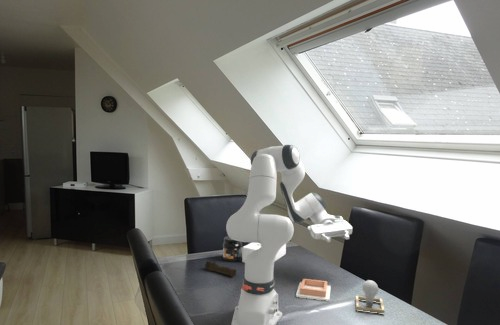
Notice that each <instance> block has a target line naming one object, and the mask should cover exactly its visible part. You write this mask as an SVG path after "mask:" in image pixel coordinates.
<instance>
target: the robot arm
mask: <svg viewBox="0 0 500 325" xmlns="http://www.w3.org/2000/svg"><path fill="white" fill-rule="evenodd" d="M300 157H301V155H300V152H299V150H298V148H297V147H296V146H294V145H293V144H284V145H278V146H277V145H276V146H269V147H265V148H262V149H261V148H260V149H257V150H255V151H253V153H251V156H250V165H251V167H250V170H249V178H248V189H247V194H246V199H245V201H244V203H243V205H242V206H241V207H240V208H239V209H238V210H237V211H236V212H235V213H234V214H232V215H231V216H230V217H229V218H228V219H227V220H226V225H225V226H226V228H225V230H226V233H227V236H229V237H230V238H231V239H233V240H236V241H240V242H241V243H260V244H261V247H260V248H259V249H257V250H255V251H253V252H251V253H249V254H248V255H247V256H246V259H245V263H244V276H243V281H242V287H241V289H240V295H239V296H240V297H239V301H238V302H237V306H235V307H234V311H233V316H232V320H231V325H277V324H278V323H277V322H280V321H281V319H282V318H281V317H283V312H282V311H280V310H279V294H278V293H277V291H276V290H275V284H276V283H275V282H276V281H275V277H274V271H275V270H274V269H275V268H274V267H275V262H276V261H275V257H276V254H277V252H278V251H279V249H280V248H281V247H282V246H283V245H285V244H286V245H287V243H289V242H290V240H292V238H293V236H294V232H295V227H294V223H295V224H302V223H303V222H305V221H306V220H307V219H308V218H309V219H310V220H311V221H310V222H312V223H313V224H312V225H311V224H310V225H308V226H307V230H308V231H309V233H310V235H311V237H312V239H314V240H323V241H326V243H331V242H332V241H331V240H332V239H331V238H334V237H343V236H344V239H345V240H350V235H352V234H353V228H354V227H353V226H352V225H351V223H349V222H348V221H346V220H345V219H344V218H343V217H342V216H341V215H332V214H329V213H327V211H326V208H327V207H326V202H325V201H324V200H323V198H322V197H321V196H320V195H319V194H318V193H316V192H314V191H313V192H310V193H308V194H306V195H305V196H304V197H302V198H300V199H298V200H297V201H295V200H294V198H293V196H294V195H293V193H294V191H295V190H296V188H297V187H299V185H300V184H301V183H302V182H303V180H304V178H305V175H306V169H305V166H304V164H303V161H302V160H301V158H300ZM278 172H279V173H280V174H281V181H280V183H279V188H280V191H281V194H282V198H283V200H284V203H285V206H286V209H287V214H288V216H289V217H287V216H283V215H280V214H272V213H271V214H268V213H260V212H261V210H262V209H264V208H265V207H268V206H270V205H271V204H273V203H274V202H275V200H276V198H277V181H278V178H277V177H278V174H277V173H278Z"/></svg>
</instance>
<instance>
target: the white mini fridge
mask: <svg viewBox="0 0 500 325" xmlns="http://www.w3.org/2000/svg"><path fill="white" fill-rule="evenodd" d="M260 247H261V244H260V243H251V242H249V243H248V244H246V245H244V246H242V252H241V256H242V257H241V262H242V263H243V264H245V259H246V256H247V255H248V254H249V253H251V252H253V251H255V250H257V249H259V248H260ZM286 253H287V243H286V244H285V245H283V246H282V247H281V248H280V249H279V251H278V252H277V254H276V257H275V261H274V262H276V261H278V260H279V259H280V258H282V257H283V256H285V255H286Z"/></svg>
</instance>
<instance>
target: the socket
mask: <svg viewBox="0 0 500 325" xmlns="http://www.w3.org/2000/svg"><path fill="white" fill-rule="evenodd" d="M331 288H332V286H331V285H328V281H327V280H319V279H311V278H302V281H300V282H299V284H298V287H297V291H296V294H295V298H298V297H299V298H300V299H306V298H307V299H306V300H313V299H316V300H315V301H321V300H326V301H325V302H328V301H329V302H330V297H331V296H330V295H331Z"/></svg>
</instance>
